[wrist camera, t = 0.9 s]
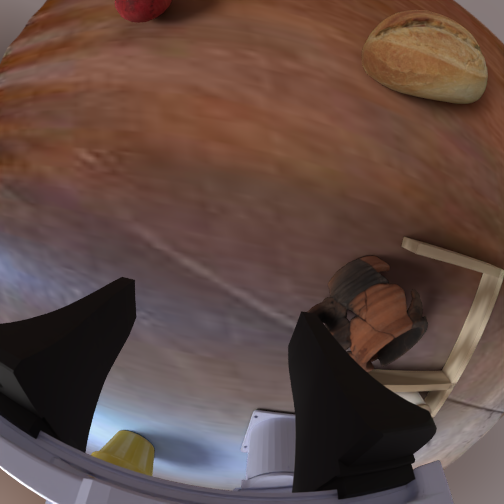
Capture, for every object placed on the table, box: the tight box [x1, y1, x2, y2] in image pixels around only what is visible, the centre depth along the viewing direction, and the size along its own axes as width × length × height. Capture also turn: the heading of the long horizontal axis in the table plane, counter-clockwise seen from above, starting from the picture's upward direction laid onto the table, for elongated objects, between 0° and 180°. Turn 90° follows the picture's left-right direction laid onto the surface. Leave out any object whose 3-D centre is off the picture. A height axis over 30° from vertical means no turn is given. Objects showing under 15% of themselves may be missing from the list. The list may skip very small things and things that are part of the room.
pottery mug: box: [308, 256, 428, 372], centre depth 23 cm, size 12×10×8 cm
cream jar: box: [394, 391, 432, 414], centre depth 25 cm, size 4×4×6 cm
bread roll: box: [362, 10, 488, 104], centre depth 15 cm, size 10×15×8 cm, turn 102°
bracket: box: [368, 237, 504, 418], centre depth 24 cm, size 22×14×3 cm, turn 169°
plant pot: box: [91, 430, 155, 478], centre depth 28 cm, size 10×10×10 cm
